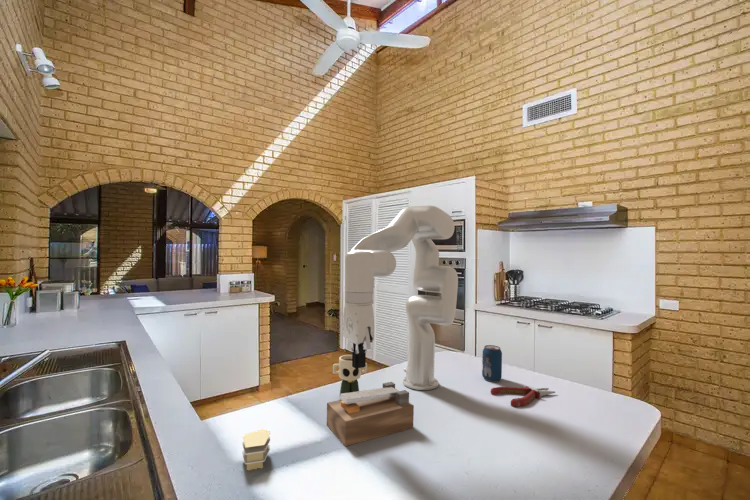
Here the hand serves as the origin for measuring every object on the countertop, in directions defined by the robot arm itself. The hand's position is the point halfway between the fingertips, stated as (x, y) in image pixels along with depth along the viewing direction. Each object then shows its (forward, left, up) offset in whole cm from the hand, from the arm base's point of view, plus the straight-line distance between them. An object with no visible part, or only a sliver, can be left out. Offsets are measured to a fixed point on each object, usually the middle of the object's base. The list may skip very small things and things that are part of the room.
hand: (358, 366), depth 96 cm
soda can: (-11, +62, -17) cm, 65 cm away
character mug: (-19, +7, -17) cm, 26 cm away
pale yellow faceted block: (+3, -27, -17) cm, 32 cm away
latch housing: (0, +4, -16) cm, 17 cm away
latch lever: (0, +4, -9) cm, 9 cm away
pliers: (+7, +58, -17) cm, 61 cm away
